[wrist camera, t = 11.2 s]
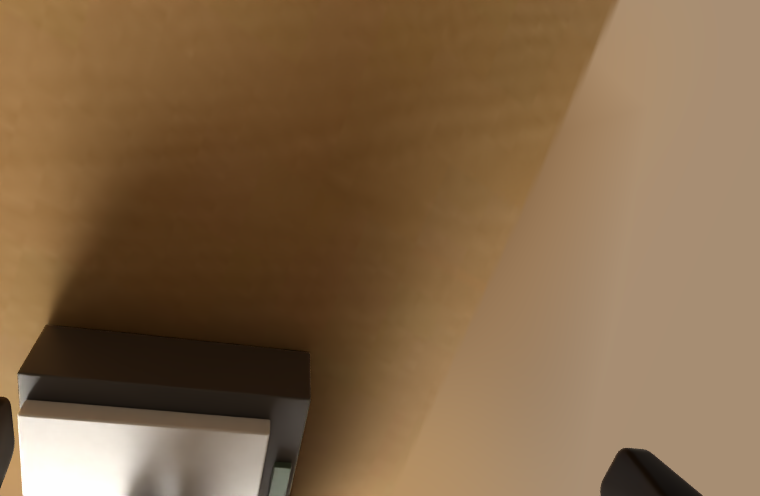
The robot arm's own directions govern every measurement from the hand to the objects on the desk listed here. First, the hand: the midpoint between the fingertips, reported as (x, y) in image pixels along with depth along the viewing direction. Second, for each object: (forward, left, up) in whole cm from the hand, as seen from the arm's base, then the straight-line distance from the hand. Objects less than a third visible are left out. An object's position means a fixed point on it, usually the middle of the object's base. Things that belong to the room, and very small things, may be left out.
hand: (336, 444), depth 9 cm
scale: (+4, +13, -12) cm, 18 cm away
